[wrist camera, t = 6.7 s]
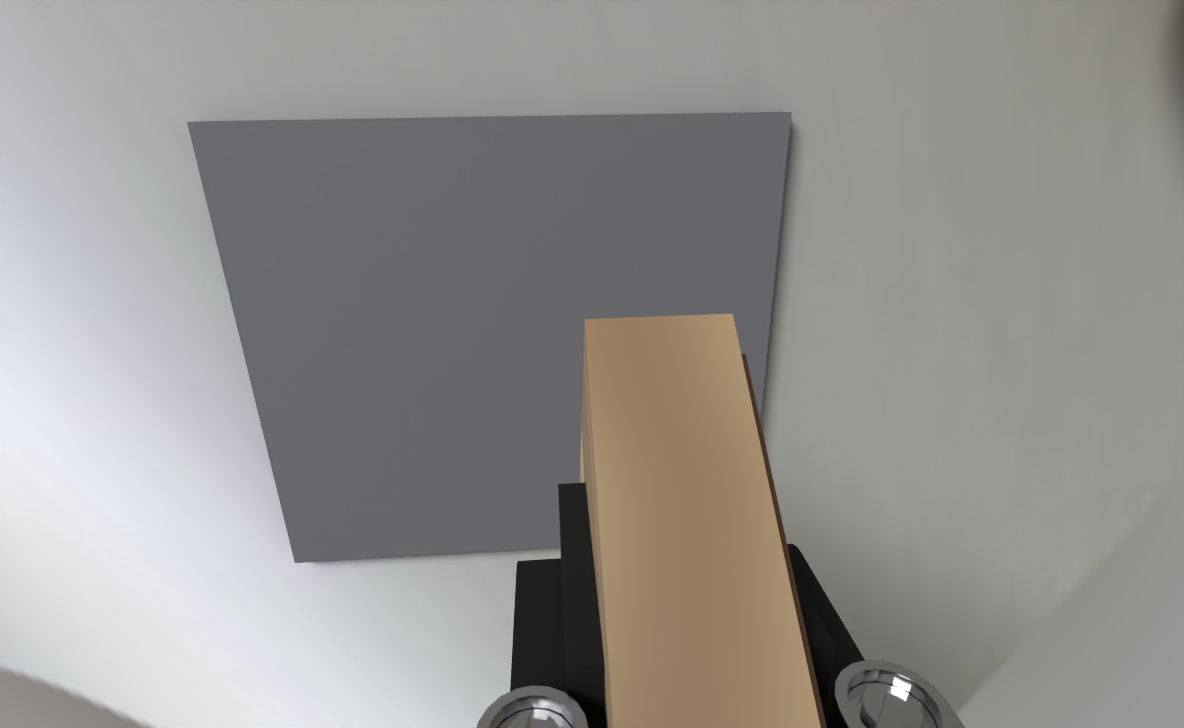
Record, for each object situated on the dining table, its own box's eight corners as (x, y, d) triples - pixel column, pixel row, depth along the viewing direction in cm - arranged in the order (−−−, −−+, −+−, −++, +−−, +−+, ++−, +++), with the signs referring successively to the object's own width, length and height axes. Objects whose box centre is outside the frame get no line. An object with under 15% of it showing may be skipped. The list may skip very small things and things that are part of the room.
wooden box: (668, 497, 15) (747, 312, 8) (705, 791, 12) (875, 879, 5) (579, 502, 15) (584, 319, 8) (595, 799, 12) (625, 901, 5)
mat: (784, 112, 20) (791, 112, 19) (744, 527, 26) (748, 536, 25) (197, 121, 19) (187, 121, 18) (300, 552, 25) (295, 562, 24)
